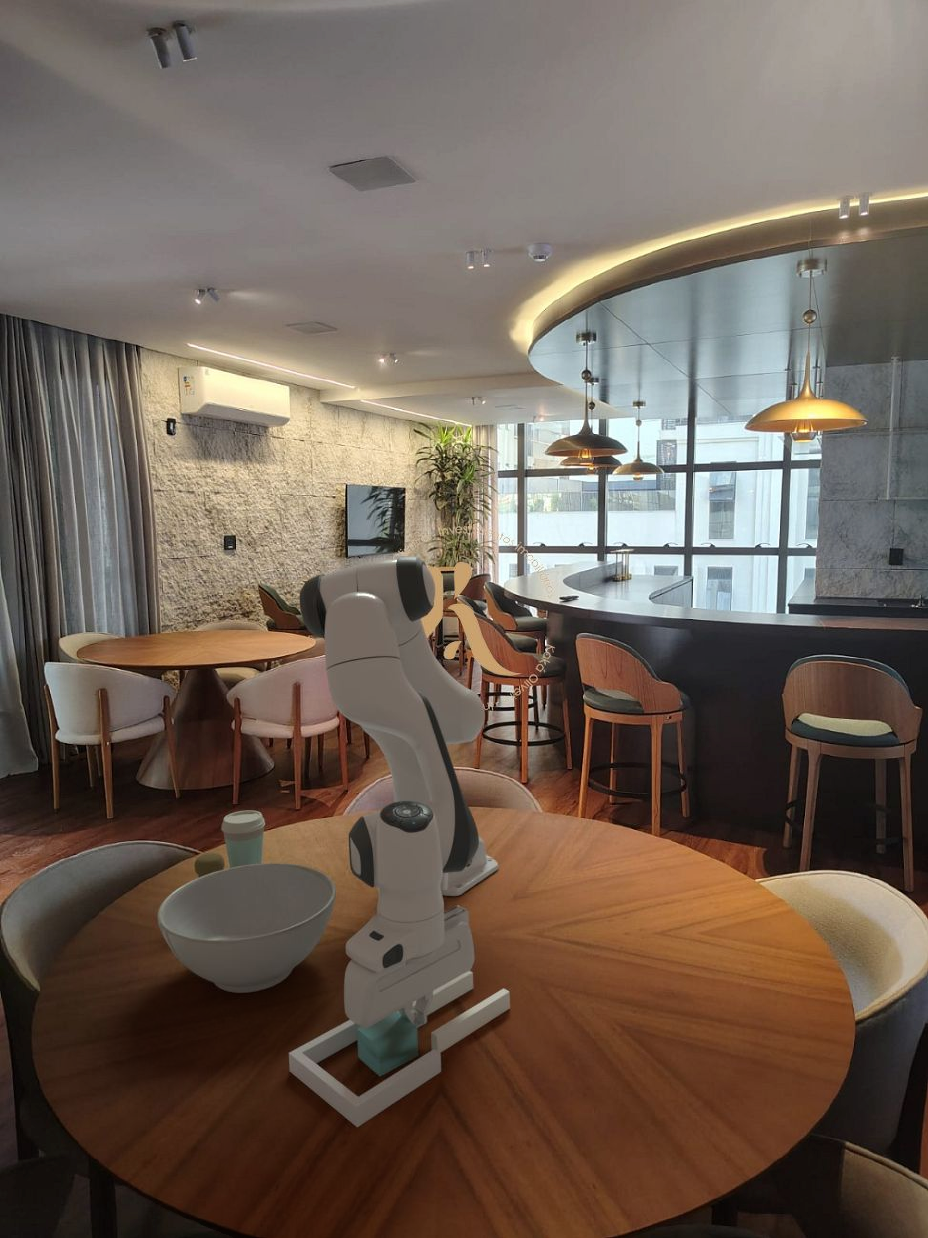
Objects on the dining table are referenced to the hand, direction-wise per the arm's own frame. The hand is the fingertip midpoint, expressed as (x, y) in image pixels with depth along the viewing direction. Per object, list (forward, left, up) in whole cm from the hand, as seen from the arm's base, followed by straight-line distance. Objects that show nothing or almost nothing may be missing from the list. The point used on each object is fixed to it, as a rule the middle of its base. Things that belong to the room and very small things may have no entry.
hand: (415, 1026), depth 109 cm
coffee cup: (-12, -66, -2) cm, 67 cm away
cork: (+1, -55, -2) cm, 55 cm away
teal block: (+4, 0, -2) cm, 5 cm away
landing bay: (+8, 0, -2) cm, 8 cm away
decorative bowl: (+6, -32, -2) cm, 33 cm away
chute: (-7, 0, -2) cm, 8 cm away
